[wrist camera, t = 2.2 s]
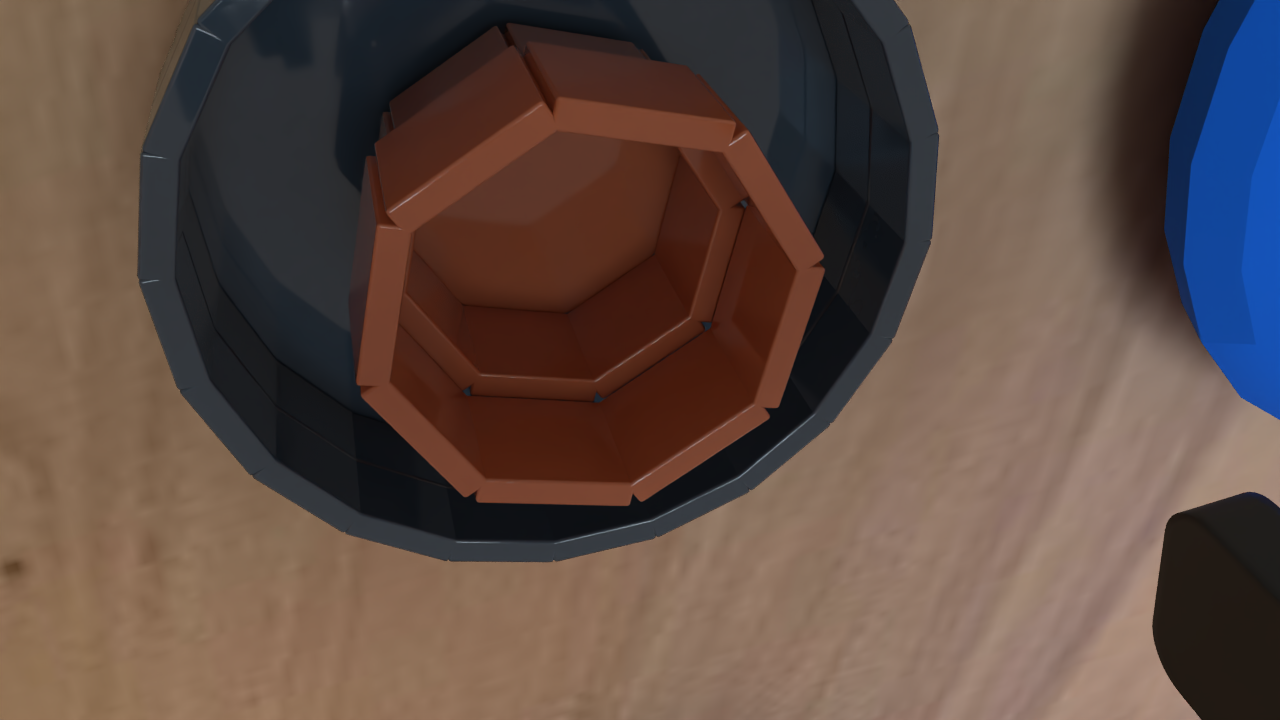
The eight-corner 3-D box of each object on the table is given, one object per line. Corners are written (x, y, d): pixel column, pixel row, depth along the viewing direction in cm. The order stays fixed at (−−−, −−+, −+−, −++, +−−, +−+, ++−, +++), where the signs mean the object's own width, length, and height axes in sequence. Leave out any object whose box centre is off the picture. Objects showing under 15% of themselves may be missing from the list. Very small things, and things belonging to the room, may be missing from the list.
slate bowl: (150, 432, 22) (130, 560, 19) (172, -301, 16) (149, -278, 13) (749, 456, 26) (808, 565, 23) (943, -124, 20) (1055, -76, 17)
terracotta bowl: (328, 322, 21) (340, 501, 17) (368, -38, 18) (396, 74, 14) (662, 346, 23) (745, 510, 19) (749, 28, 20) (870, 141, 16)
